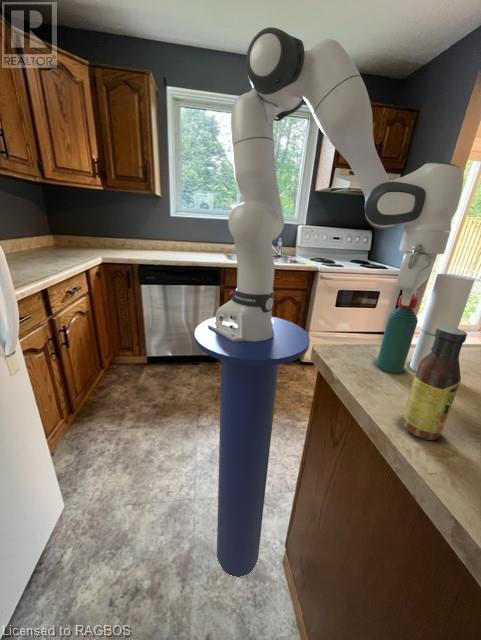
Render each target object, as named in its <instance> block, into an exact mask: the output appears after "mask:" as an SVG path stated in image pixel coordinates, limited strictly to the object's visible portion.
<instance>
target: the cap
mask: <svg viewBox="0 0 481 640" xmlns="http://www.w3.org/2000/svg"><path fill="white" fill-rule="evenodd" d="M418 300H419V297H417V296H415V297H414V296H412V300H411V304H410V305H409V306H405V305H402V304H401V301H402V294H400V295H399V299H398V301H397V306H398V307H403V308H409V309H413V310H414V309H416V307H417V304H418Z"/></svg>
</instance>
